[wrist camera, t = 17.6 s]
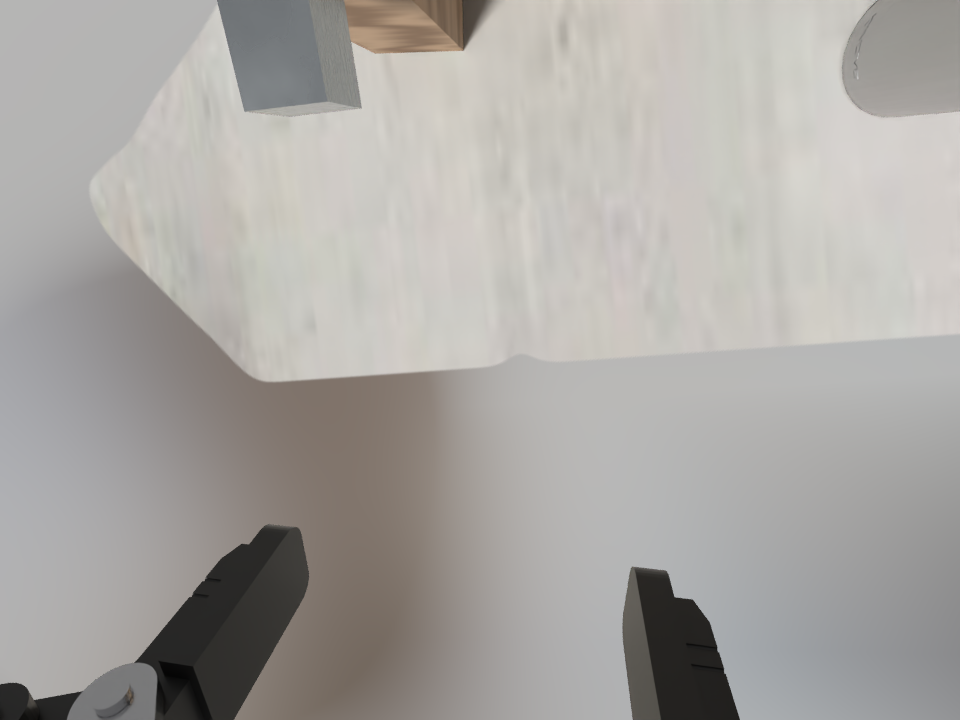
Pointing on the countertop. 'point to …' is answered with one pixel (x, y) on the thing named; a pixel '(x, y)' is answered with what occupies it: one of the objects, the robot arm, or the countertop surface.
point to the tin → (291, 55)
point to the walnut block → (406, 25)
